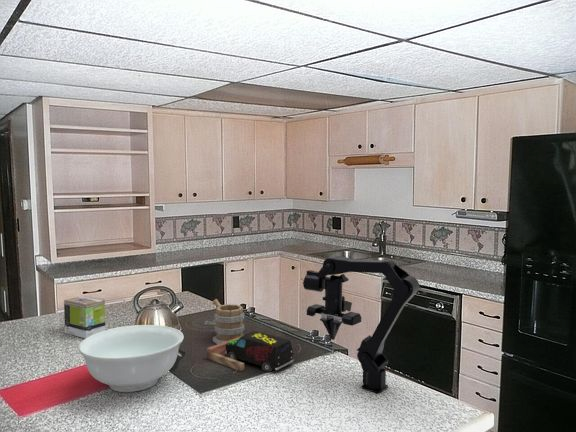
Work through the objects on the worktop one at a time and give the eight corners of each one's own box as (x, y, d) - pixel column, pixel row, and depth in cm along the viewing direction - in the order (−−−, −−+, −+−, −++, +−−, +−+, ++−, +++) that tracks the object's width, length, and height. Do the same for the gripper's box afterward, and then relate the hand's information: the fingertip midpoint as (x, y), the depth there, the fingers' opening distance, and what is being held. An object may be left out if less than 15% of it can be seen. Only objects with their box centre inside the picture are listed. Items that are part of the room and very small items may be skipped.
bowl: (79, 371, 165) (78, 330, 163) (174, 358, 177) (174, 319, 176) (79, 414, 135) (78, 364, 134) (193, 394, 148) (193, 348, 147)
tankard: (250, 342, 195) (250, 306, 194) (222, 348, 188) (222, 310, 187) (228, 329, 211) (228, 295, 210) (201, 334, 204) (201, 299, 203)
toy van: (242, 350, 186) (242, 325, 185) (294, 365, 171) (294, 338, 171) (223, 358, 177) (223, 332, 177) (276, 375, 163) (276, 346, 162)
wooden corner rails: (275, 356, 179) (275, 346, 179) (241, 371, 165) (241, 360, 165) (241, 345, 191) (241, 335, 190) (206, 358, 177) (206, 348, 177)
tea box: (106, 333, 205) (105, 299, 204) (85, 339, 196) (84, 304, 195) (84, 327, 213) (84, 294, 212) (63, 333, 204) (62, 299, 203)
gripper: (370, 293, 159) (369, 339, 161) (324, 285, 171) (324, 327, 173) (352, 300, 151) (351, 348, 152) (305, 290, 163) (305, 335, 164)
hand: (332, 339), depth 161 cm, fingers closed
